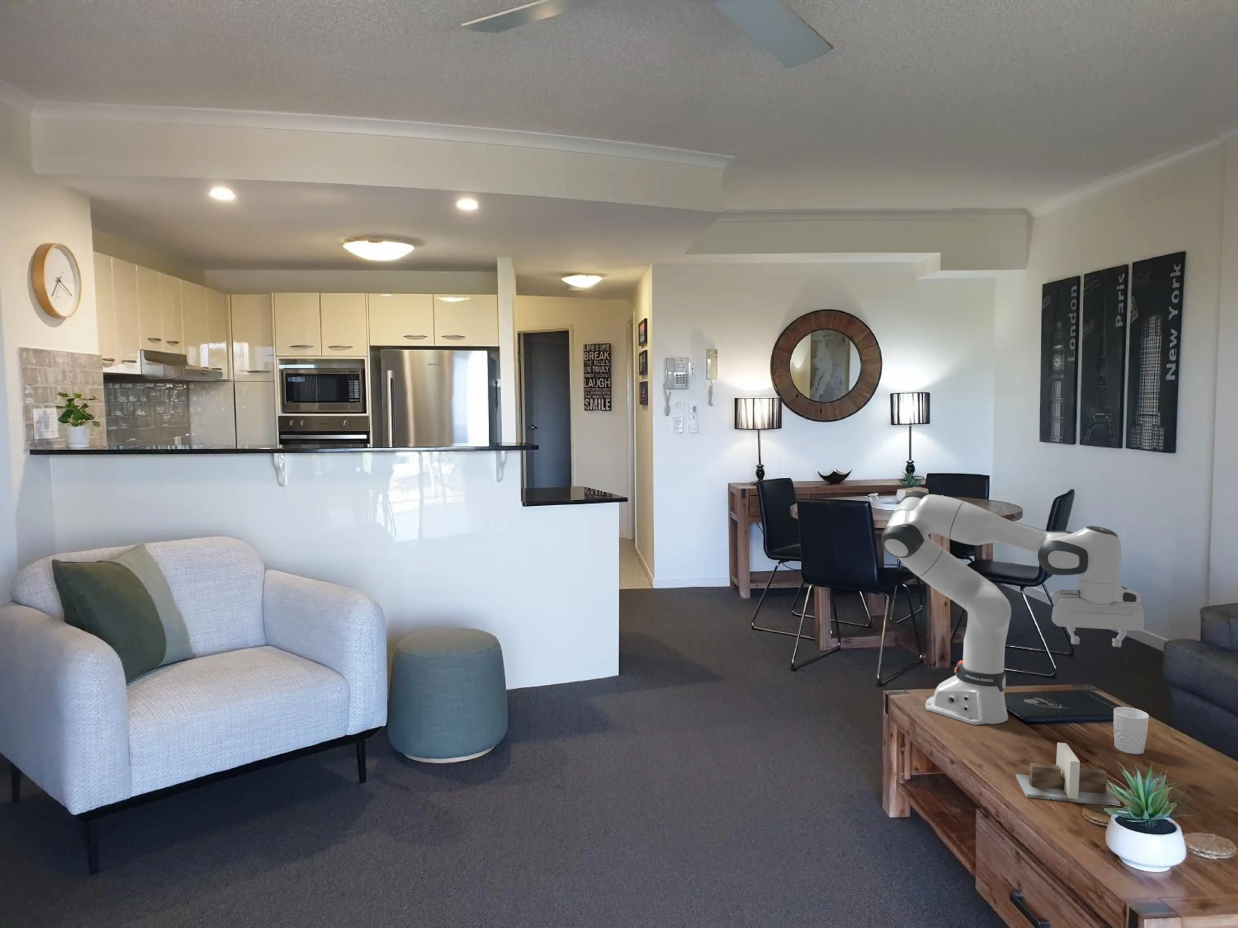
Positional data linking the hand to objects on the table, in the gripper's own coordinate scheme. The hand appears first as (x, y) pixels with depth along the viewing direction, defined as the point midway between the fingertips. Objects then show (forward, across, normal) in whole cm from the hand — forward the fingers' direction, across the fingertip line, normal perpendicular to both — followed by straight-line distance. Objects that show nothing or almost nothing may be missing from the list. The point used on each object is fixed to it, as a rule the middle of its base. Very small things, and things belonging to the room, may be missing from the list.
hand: (1095, 644), depth 201 cm
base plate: (+31, -10, -17) cm, 37 cm away
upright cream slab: (+30, -10, -17) cm, 36 cm away
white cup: (+31, +13, +12) cm, 36 cm away
